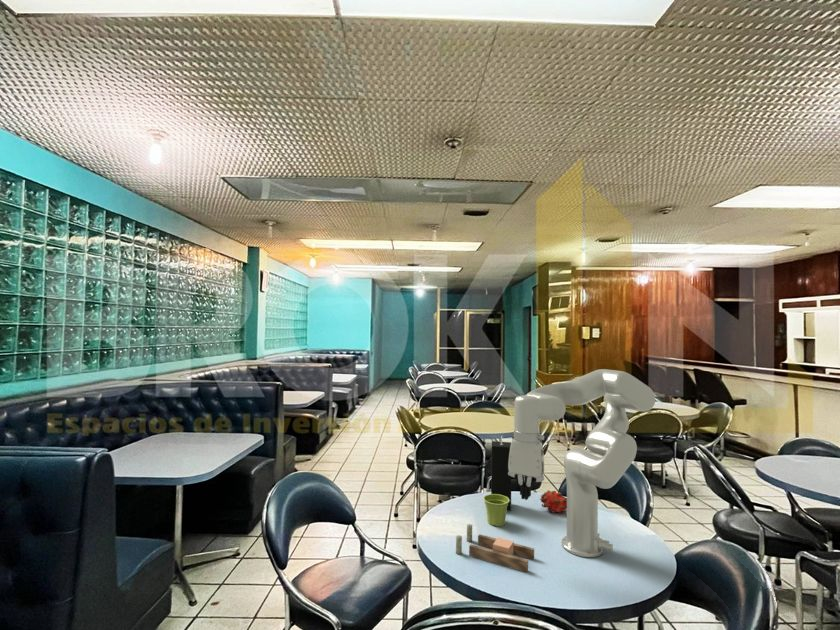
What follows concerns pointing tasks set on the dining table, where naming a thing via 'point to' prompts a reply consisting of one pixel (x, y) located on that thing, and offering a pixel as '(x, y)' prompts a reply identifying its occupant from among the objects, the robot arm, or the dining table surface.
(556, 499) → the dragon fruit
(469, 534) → the chute
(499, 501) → the plant pot
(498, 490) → the tall black pillar
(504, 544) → the block
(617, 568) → the dining table surface
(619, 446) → the robot arm
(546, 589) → the dining table surface
